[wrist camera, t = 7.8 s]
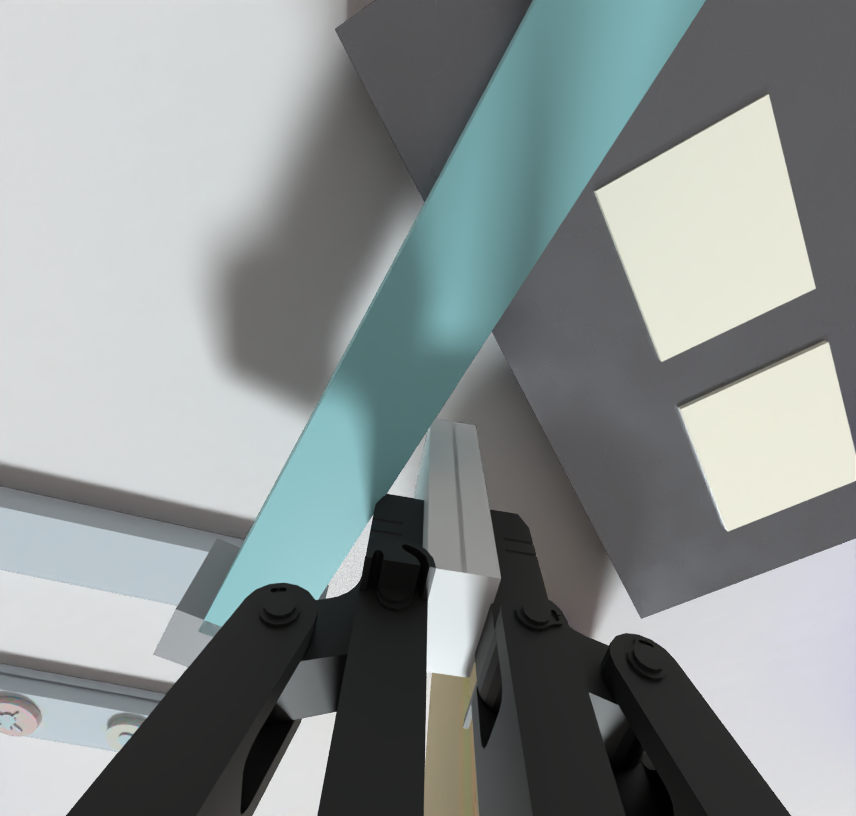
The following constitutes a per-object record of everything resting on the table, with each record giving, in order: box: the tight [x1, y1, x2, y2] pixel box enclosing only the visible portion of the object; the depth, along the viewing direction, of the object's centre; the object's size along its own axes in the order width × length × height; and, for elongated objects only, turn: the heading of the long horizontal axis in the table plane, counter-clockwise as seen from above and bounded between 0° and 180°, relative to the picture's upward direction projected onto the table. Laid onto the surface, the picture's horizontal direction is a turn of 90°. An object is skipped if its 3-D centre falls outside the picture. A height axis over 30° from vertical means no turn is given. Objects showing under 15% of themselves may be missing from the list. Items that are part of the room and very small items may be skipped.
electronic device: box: [0, 486, 244, 752], centre depth 25 cm, size 18×2×15 cm
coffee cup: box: [424, 662, 479, 816], centre depth 21 cm, size 9×9×12 cm
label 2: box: [678, 340, 856, 531], centre depth 18 cm, size 6×5×1 cm
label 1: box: [594, 94, 816, 362], centre depth 16 cm, size 6×5×1 cm
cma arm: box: [153, 0, 706, 667], centre depth 12 cm, size 23×4×3 cm, turn 150°
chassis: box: [335, 0, 856, 619], centre depth 16 cm, size 24×14×4 cm, turn 29°
